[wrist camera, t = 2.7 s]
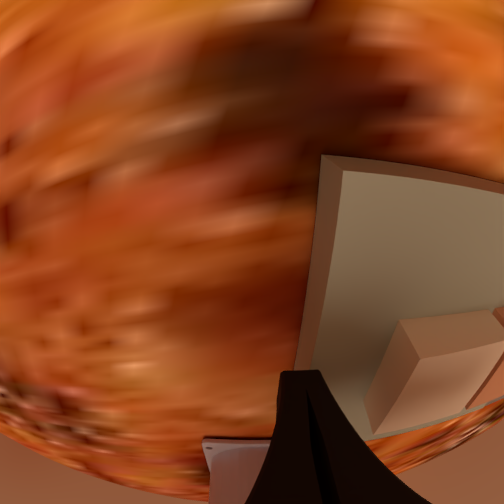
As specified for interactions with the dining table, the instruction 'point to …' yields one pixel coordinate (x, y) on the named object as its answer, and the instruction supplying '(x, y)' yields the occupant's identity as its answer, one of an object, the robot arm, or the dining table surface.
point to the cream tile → (432, 368)
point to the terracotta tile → (491, 376)
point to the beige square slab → (393, 266)
